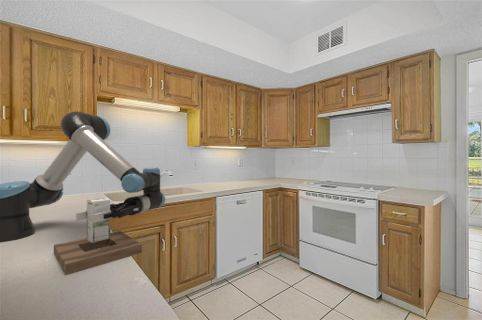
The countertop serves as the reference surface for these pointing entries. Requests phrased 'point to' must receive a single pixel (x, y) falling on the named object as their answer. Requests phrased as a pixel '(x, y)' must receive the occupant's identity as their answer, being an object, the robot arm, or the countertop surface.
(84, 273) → the countertop surface
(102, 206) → the syrup box
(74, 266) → the hole board
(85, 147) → the robot arm
